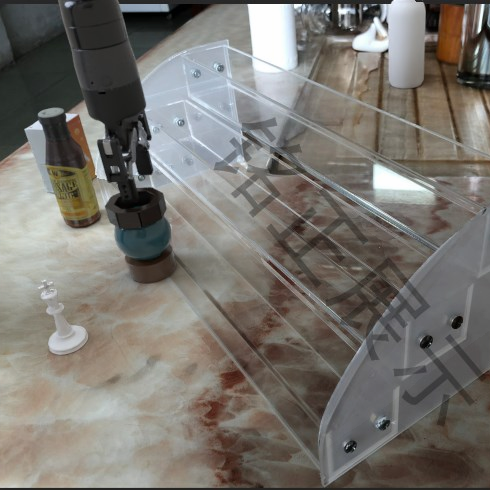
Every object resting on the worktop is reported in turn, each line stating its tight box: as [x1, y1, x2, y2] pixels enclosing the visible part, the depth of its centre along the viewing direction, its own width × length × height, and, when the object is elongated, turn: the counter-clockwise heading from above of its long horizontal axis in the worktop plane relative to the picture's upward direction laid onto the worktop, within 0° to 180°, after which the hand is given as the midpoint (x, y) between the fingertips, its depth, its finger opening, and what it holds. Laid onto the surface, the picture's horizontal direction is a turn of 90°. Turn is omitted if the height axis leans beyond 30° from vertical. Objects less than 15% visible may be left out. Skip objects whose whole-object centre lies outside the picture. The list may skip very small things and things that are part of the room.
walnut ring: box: [104, 186, 168, 229], centre depth 84 cm, size 8×8×2 cm
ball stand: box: [113, 206, 177, 284], centre depth 87 cm, size 8×8×10 cm
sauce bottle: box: [37, 107, 101, 228], centre depth 99 cm, size 6×6×20 cm
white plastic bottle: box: [387, 0, 427, 90], centre depth 142 cm, size 9×9×30 cm
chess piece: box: [37, 279, 89, 356], centre depth 75 cm, size 5×5×10 cm
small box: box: [24, 112, 97, 194], centre depth 112 cm, size 8×6×13 cm
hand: (139, 187), depth 86 cm, fingers open, 8 cm apart
